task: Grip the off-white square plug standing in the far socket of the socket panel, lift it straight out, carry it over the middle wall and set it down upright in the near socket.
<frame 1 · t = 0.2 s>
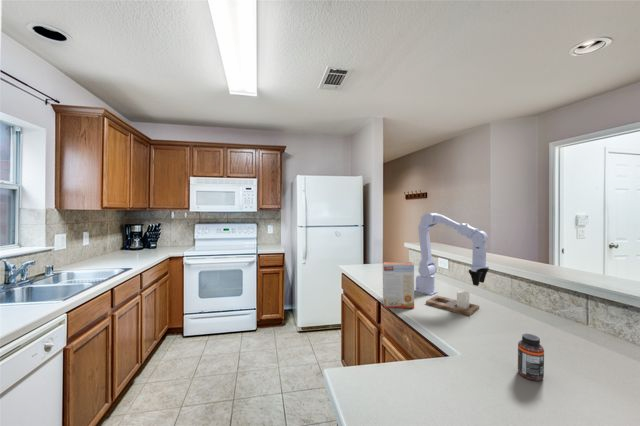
hand: (478, 283, 134), 10 cm above the worktop, tool pointing down, fingers open, 7 cm apart
socket panel: (451, 306, 132), on the worktop
cracker box: (398, 306, 133), on the worktop
supplement bottle: (530, 376, 79), on the worktop
plug: (463, 309, 128), resting in socket panel
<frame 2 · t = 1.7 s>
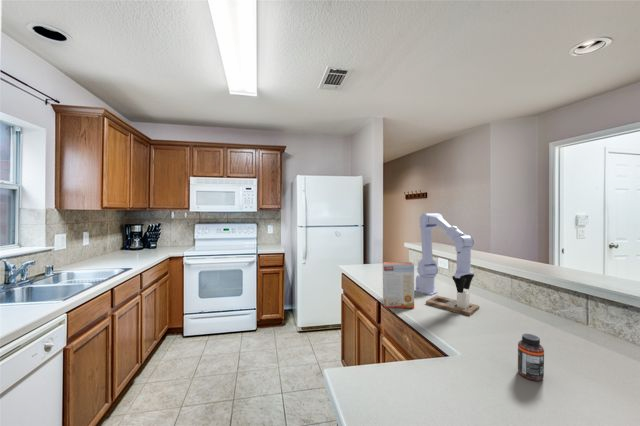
hand: (463, 290, 128), 9 cm above the worktop, tool pointing down, fingers open, 7 cm apart
nothing on the worktop moved.
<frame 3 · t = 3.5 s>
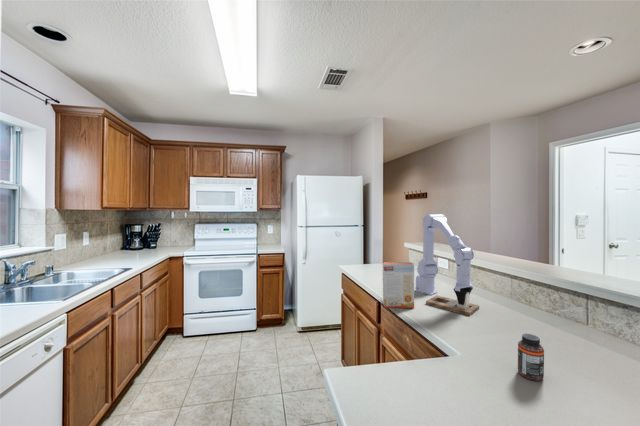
hand: (463, 303, 128), 3 cm above the worktop, tool pointing down, fingers closed on plug, 4 cm apart
plug: (463, 309, 128), resting in socket panel, touching gripper
everything else where it was.
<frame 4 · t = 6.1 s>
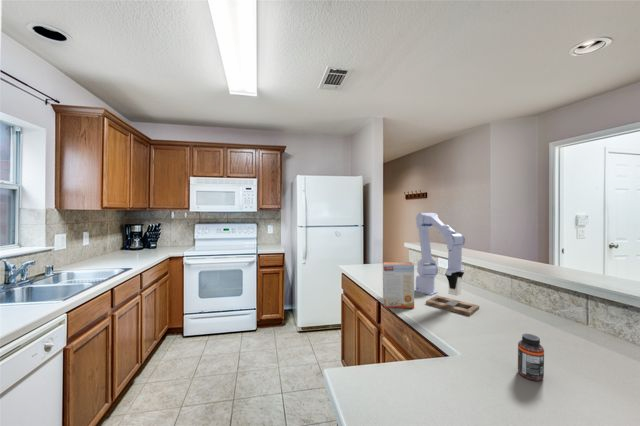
hand: (454, 287, 131), 9 cm above the worktop, tool pointing down, fingers closed on plug, 4 cm apart
plug: (454, 293, 131), point 6 cm above the worktop, touching gripper
everything else where it was.
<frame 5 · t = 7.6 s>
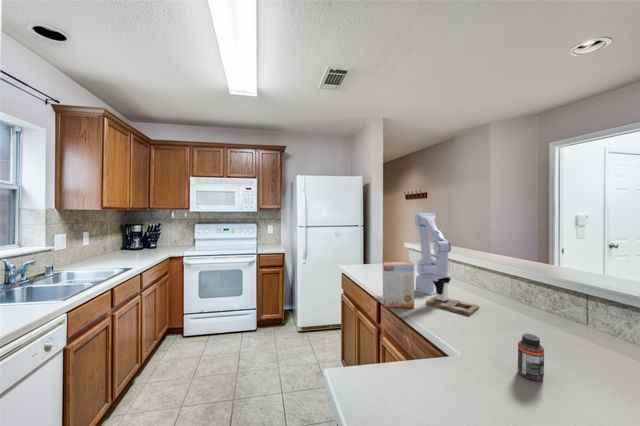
hand: (441, 292, 135), 5 cm above the worktop, tool pointing down, fingers closed on plug, 4 cm apart
plug: (441, 299, 135), point 2 cm above the worktop, touching gripper
everything else where it was.
when the fingers open (4 cm above the worktop, at t = 8.8 s): plug stays where it is, resting in socket panel.
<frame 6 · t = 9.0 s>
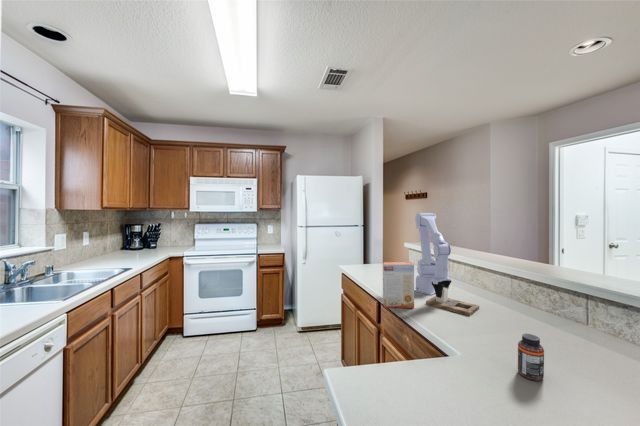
hand: (441, 295, 135), 4 cm above the worktop, tool pointing down, fingers open, 6 cm apart
plug: (441, 303, 135), resting in socket panel
everything else where it was.
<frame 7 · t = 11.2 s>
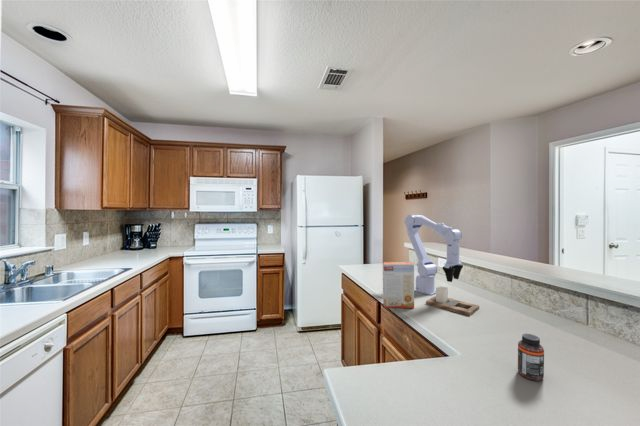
hand: (452, 280, 140), 10 cm above the worktop, tool pointing down, fingers open, 7 cm apart
nothing on the worktop moved.
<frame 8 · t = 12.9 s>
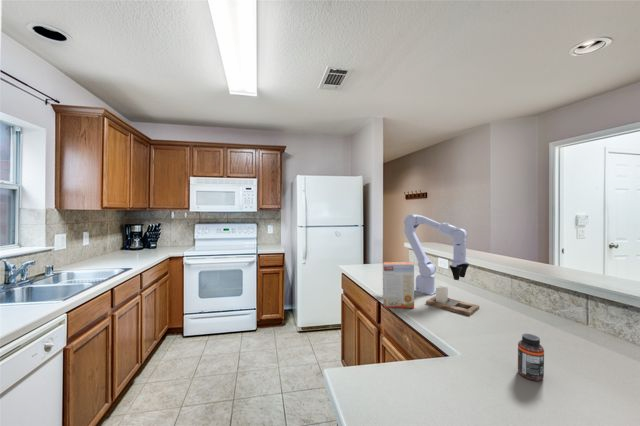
hand: (459, 278, 143), 10 cm above the worktop, tool pointing down, fingers open, 7 cm apart
nothing on the worktop moved.
at the end: plug 0.1 cm from the target spot, resting in socket panel; plug tilted 0°; the gripper is holding nothing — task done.
